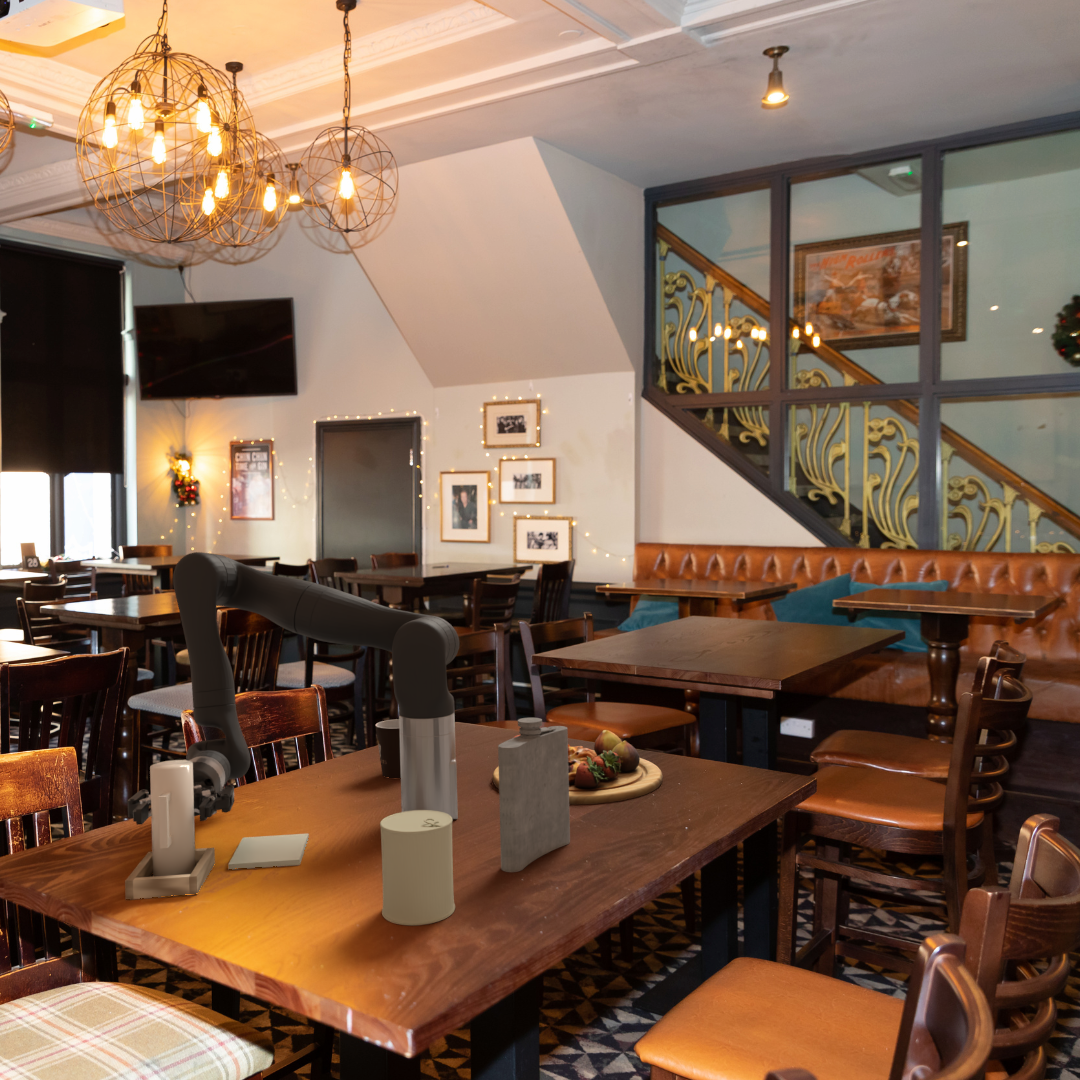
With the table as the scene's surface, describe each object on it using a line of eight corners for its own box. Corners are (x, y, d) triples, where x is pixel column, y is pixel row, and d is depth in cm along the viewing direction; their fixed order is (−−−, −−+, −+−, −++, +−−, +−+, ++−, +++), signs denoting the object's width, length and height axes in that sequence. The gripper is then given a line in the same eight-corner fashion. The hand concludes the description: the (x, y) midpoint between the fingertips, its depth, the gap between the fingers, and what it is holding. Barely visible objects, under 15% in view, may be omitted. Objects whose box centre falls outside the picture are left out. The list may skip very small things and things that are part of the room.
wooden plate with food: (458, 783, 186) (457, 739, 185) (578, 751, 207) (577, 712, 207) (575, 822, 162) (574, 773, 162) (697, 782, 183) (697, 738, 183)
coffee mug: (412, 781, 186) (411, 728, 186) (370, 779, 188) (368, 727, 188) (431, 765, 198) (430, 716, 198) (391, 764, 200) (389, 715, 199)
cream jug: (199, 869, 141) (196, 759, 140) (186, 890, 133) (183, 773, 132) (158, 872, 140) (156, 761, 140) (143, 893, 132) (140, 775, 132)
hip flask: (515, 873, 136) (511, 730, 136) (491, 868, 138) (488, 728, 138) (573, 840, 150) (570, 710, 149) (551, 836, 152) (548, 708, 151)
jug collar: (214, 864, 143) (214, 847, 143) (197, 894, 131) (196, 876, 131) (149, 868, 141) (148, 851, 141) (125, 899, 130) (125, 881, 130)
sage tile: (308, 838, 154) (308, 833, 154) (299, 865, 142) (299, 859, 142) (243, 842, 152) (242, 837, 152) (228, 869, 140) (228, 864, 140)
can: (424, 931, 118) (421, 832, 117) (366, 916, 123) (364, 821, 122) (469, 905, 125) (467, 812, 125) (413, 892, 130) (411, 802, 130)
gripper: (148, 763, 152) (116, 792, 136) (242, 758, 153) (222, 786, 137) (149, 811, 152) (118, 845, 136) (244, 806, 154) (223, 839, 138)
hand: (170, 815), depth 137 cm, fingers open, 8 cm apart
